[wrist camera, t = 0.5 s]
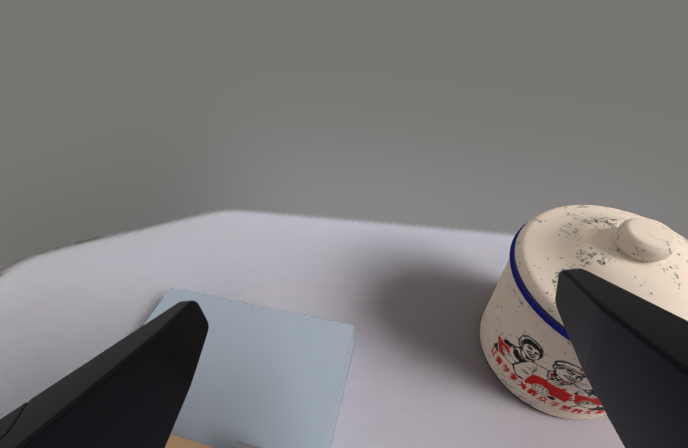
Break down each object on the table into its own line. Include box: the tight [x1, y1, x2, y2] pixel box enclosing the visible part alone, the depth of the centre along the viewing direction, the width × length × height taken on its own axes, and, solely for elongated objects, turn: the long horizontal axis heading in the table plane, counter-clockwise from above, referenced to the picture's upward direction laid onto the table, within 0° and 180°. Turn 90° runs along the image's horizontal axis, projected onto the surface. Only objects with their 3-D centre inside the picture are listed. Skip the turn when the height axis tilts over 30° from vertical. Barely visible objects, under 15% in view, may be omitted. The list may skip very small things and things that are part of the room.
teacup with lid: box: [480, 205, 688, 420], centre depth 17 cm, size 12×9×12 cm
